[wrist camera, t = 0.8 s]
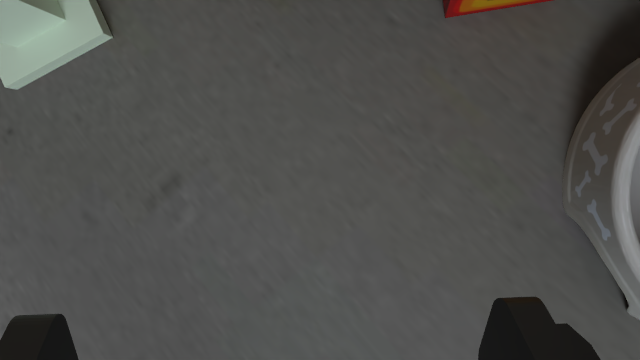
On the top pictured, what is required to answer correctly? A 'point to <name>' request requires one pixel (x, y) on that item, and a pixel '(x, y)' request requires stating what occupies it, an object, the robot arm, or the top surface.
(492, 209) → the top surface
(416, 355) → the top surface
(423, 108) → the top surface
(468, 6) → the baking soda box
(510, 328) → the robot arm
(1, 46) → the stand
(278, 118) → the top surface
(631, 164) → the dog bowl
